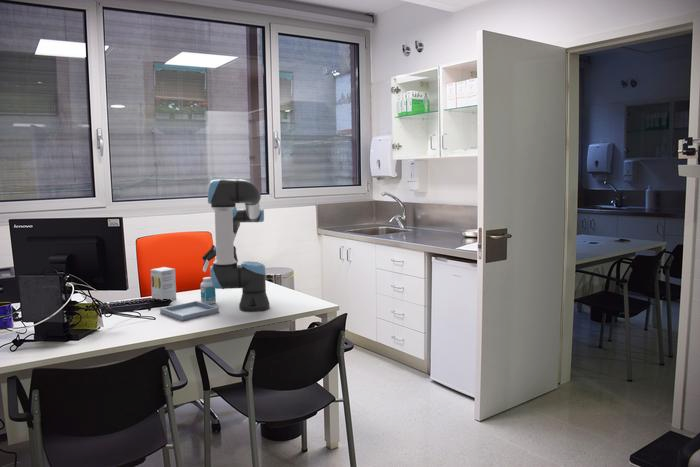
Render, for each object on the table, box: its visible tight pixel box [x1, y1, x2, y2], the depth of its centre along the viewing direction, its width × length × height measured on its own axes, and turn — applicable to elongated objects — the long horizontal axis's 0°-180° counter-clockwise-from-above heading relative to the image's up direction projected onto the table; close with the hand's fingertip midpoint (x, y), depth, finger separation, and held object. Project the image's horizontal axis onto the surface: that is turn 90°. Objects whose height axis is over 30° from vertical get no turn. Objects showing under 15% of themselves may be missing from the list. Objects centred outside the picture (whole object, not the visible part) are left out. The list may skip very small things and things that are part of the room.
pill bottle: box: [200, 276, 217, 305], centre depth 282 cm, size 8×7×14 cm
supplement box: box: [150, 266, 177, 301], centre depth 289 cm, size 10×9×17 cm
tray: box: [159, 300, 220, 322], centre depth 264 cm, size 20×20×2 cm
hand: (215, 271), depth 290 cm, fingers open, 13 cm apart
